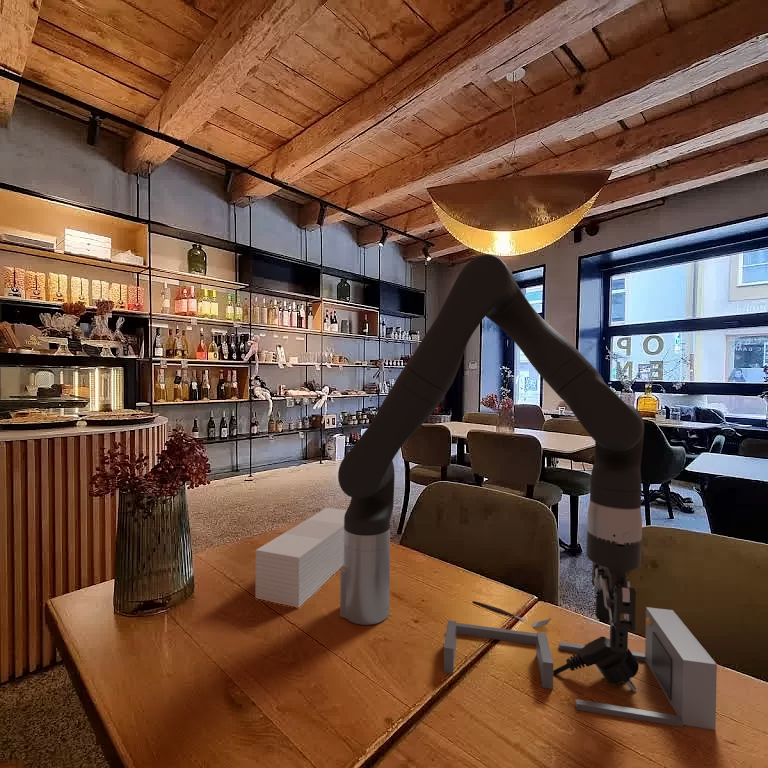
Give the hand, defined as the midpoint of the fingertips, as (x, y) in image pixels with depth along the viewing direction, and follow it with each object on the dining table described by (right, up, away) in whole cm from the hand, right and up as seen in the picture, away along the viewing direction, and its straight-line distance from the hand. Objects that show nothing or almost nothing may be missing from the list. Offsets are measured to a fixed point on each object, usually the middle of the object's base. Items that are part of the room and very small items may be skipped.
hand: (610, 633), depth 68 cm
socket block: (+3, -8, 0) cm, 8 cm away
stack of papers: (-52, -7, +38) cm, 65 cm away
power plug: (-2, -8, +1) cm, 8 cm away
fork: (-10, -8, +19) cm, 23 cm away
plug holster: (-16, -7, +6) cm, 19 cm away
